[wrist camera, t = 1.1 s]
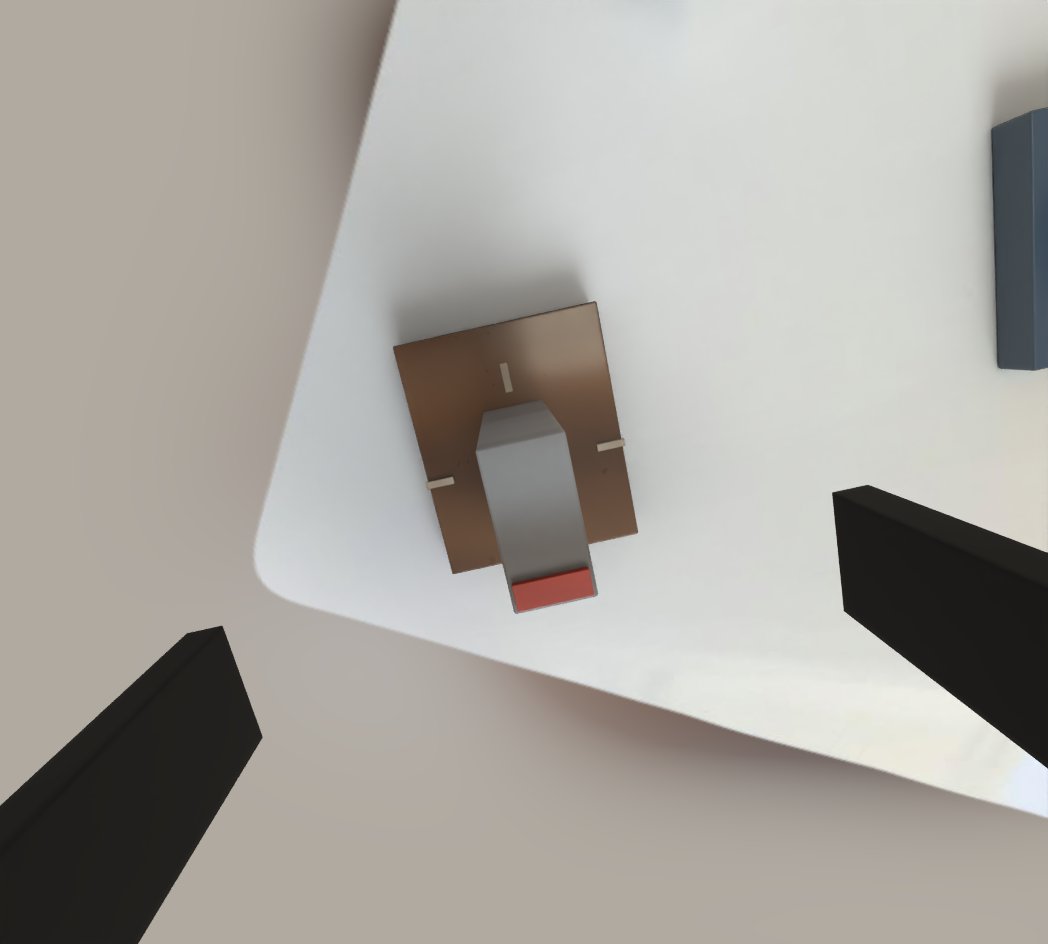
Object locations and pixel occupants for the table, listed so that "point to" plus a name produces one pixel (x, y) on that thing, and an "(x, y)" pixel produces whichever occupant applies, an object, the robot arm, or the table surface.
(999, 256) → the button block
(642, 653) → the table surface
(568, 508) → the grey slab
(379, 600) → the table surface
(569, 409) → the panel
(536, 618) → the table surface
